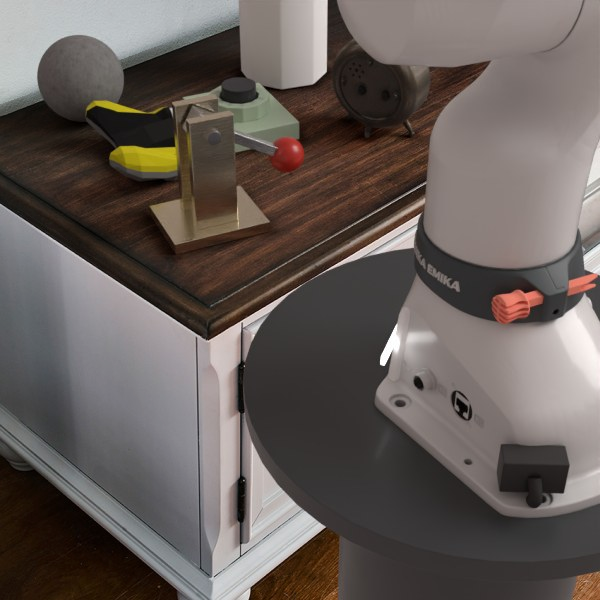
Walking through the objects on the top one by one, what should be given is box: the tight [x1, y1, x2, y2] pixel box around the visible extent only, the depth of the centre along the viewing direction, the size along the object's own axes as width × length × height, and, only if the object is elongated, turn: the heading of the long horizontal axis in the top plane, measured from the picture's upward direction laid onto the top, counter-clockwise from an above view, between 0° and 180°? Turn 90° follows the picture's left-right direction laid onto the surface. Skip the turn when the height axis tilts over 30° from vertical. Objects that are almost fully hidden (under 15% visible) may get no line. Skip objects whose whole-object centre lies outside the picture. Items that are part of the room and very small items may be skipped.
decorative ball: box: [36, 34, 125, 123], centre depth 122 cm, size 10×10×10 cm
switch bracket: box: [149, 94, 271, 255], centre depth 101 cm, size 10×8×13 cm
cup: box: [238, 0, 329, 91], centre depth 130 cm, size 11×11×18 cm
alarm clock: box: [331, 37, 432, 139], centre depth 117 cm, size 11×5×16 cm, turn 59°
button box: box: [182, 83, 300, 154], centre depth 121 cm, size 12×10×4 cm
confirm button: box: [220, 77, 256, 104], centre depth 120 cm, size 4×4×2 cm
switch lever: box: [182, 106, 305, 173], centre depth 102 cm, size 13×4×4 cm, turn 114°
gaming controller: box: [86, 101, 178, 182], centre depth 114 cm, size 15×6×10 cm
